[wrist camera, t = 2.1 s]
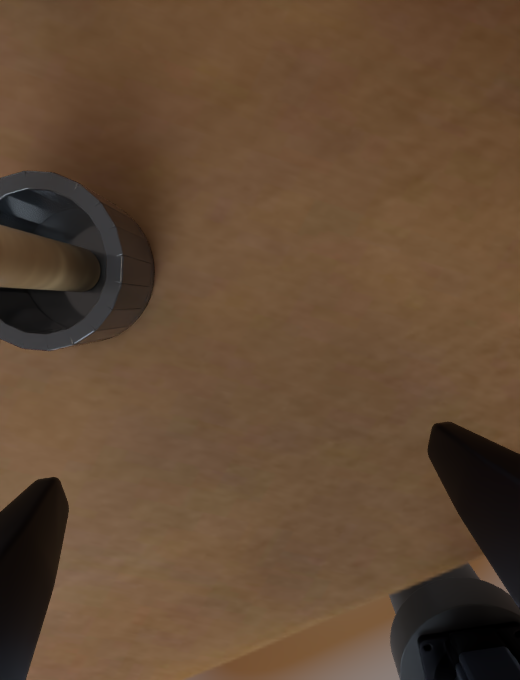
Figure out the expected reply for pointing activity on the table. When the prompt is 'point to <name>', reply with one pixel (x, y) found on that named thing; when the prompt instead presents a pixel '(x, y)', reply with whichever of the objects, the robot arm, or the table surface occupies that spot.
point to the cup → (83, 231)
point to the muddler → (44, 263)
